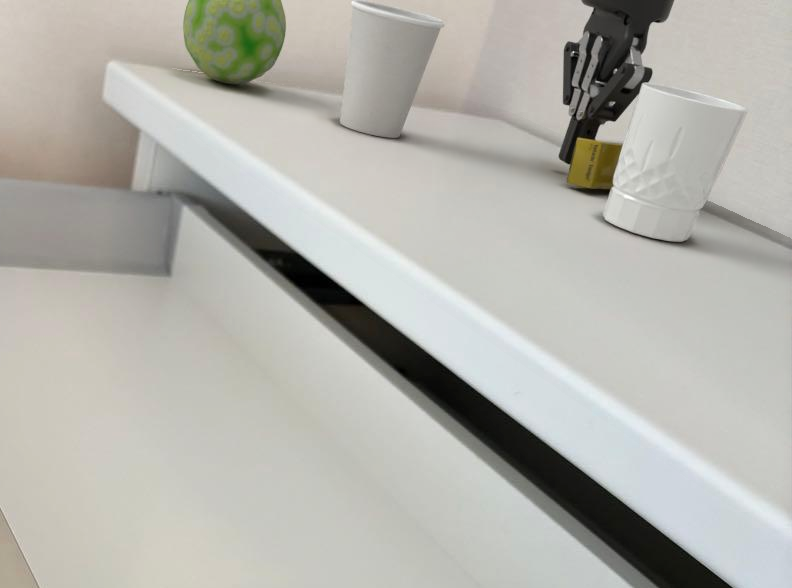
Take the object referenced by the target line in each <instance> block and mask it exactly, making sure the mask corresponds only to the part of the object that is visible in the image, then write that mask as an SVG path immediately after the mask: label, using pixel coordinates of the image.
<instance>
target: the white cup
mask: <svg viewBox="0 0 792 588" xmlns="http://www.w3.org/2000/svg"><path fill="white" fill-rule="evenodd" d="M748 112H749V109H748V108H746V107H745V106H744V105H743V106H742V105H740V104H737V103H734V102H732V101H728V100H726V99H722V98H719V97H716V96H712V95H709V94H705V93H701V92H698V91H693V90H689V89H684V88H680V87H676V86H671V85H667V84H662V83H655V82H648V83H642V85H641V88H640V92H639V94H638V95H637V97H636V101H635V105H634V107H633V111H632V115H631V118H630V121H629V123H628V127H627V130H626V134H625V137H624V140H623V141H624V143H623V146H622V149H621V152H620V156H619V161H618V164H617V167H616V170H615V173H614V177H613V185H614V186H613V187H612V188H611V189H609V193H608V197H607V199H606V203H605V206H604V209H603V213H602V216H603V217H604V220H605V221H607V222H608V223H610V224H612V225H613V226H615V227H618V228H620V229H622V230H625V231H627V232H630V233H633V234H637V235H639V236H643V237H647V238H650V239H656V240H661V241H666V242H674V243H682V242H684V241H687V240H689V238H690V236H691V233H692V232H693V230H694V226H695V225H696V222H697V220H698V218H699V215H700V213H701V211H700V210H701V209H702V208H703V207H704V206H705V204H706V203H707V201H708V200H709V197H710V195H711V192H712V189H713V188H714V185H715V184H716V182H717V180H718V178H719V177H720V174H721V172H722V170H723V168H724V166H725V163H726V161H727V158H728V157H729V155H730V151H731V150H732V148H733V145H734V143H735V141H736V139H737V137H738V134H739V133H740V131H741V128H742V125H743V123H744V121H745V119H746V117H747V115H748Z"/></svg>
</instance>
